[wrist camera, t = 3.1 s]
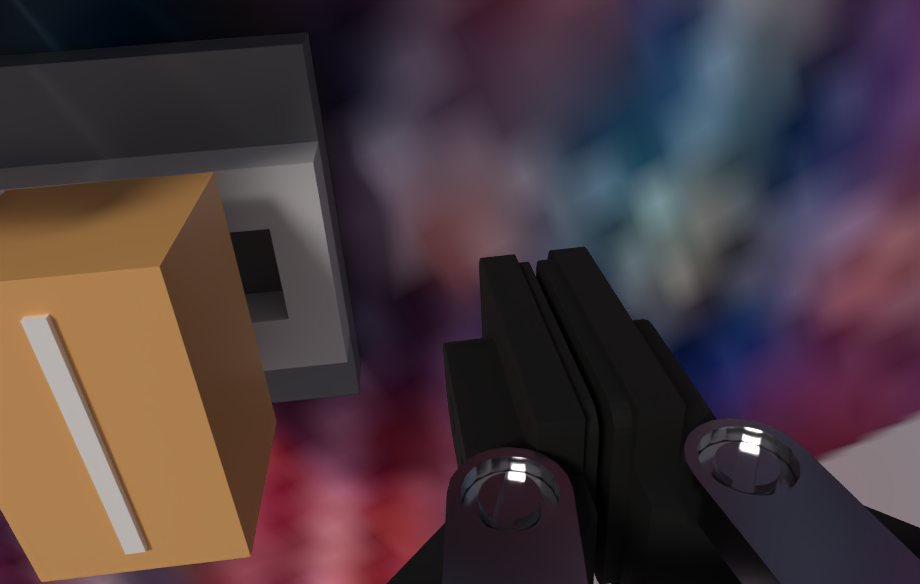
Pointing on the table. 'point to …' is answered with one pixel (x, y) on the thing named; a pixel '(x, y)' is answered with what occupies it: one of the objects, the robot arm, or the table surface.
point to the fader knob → (127, 378)
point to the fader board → (207, 150)
